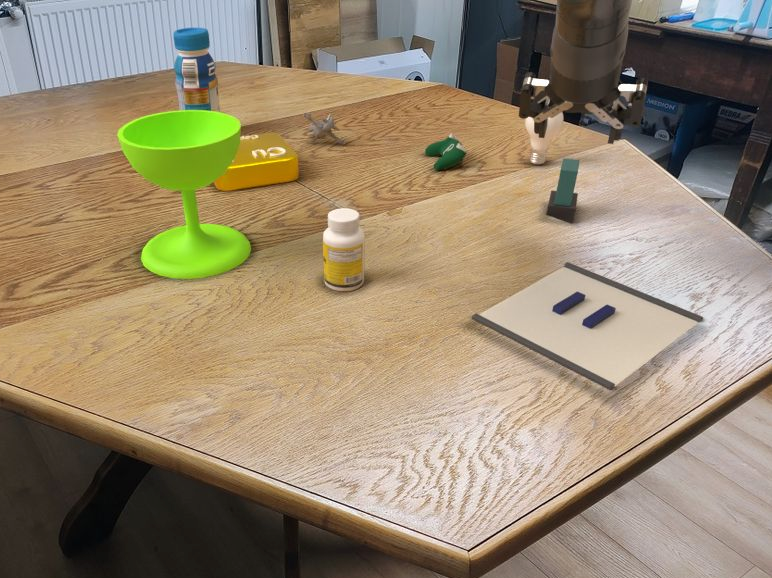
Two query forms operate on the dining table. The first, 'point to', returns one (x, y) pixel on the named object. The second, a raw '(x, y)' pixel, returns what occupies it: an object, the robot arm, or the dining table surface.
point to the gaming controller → (447, 152)
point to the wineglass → (187, 187)
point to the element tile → (260, 163)
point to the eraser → (565, 193)
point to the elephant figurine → (323, 128)
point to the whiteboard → (579, 343)
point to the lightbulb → (542, 144)
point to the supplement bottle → (344, 251)
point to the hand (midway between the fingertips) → (576, 134)
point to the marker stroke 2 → (598, 316)
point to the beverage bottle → (195, 71)
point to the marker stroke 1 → (568, 303)
